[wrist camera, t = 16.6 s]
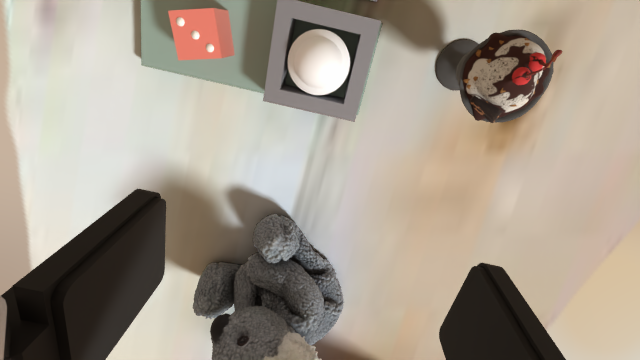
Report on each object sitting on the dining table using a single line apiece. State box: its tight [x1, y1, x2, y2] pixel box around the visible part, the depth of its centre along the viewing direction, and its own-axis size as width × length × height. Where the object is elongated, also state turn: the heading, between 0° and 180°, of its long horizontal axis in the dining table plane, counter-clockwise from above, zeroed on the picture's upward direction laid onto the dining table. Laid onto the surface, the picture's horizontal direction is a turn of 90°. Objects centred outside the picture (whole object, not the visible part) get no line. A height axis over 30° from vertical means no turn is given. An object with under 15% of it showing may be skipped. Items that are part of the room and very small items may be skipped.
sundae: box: [436, 30, 562, 123], centre depth 27 cm, size 7×7×15 cm
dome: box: [288, 29, 350, 95], centre depth 30 cm, size 6×6×5 cm
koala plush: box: [193, 214, 344, 360], centre depth 38 cm, size 17×18×20 cm
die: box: [168, 8, 235, 60], centre depth 31 cm, size 4×4×4 cm
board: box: [141, 0, 382, 122], centre depth 32 cm, size 9×23×5 cm, turn 78°
